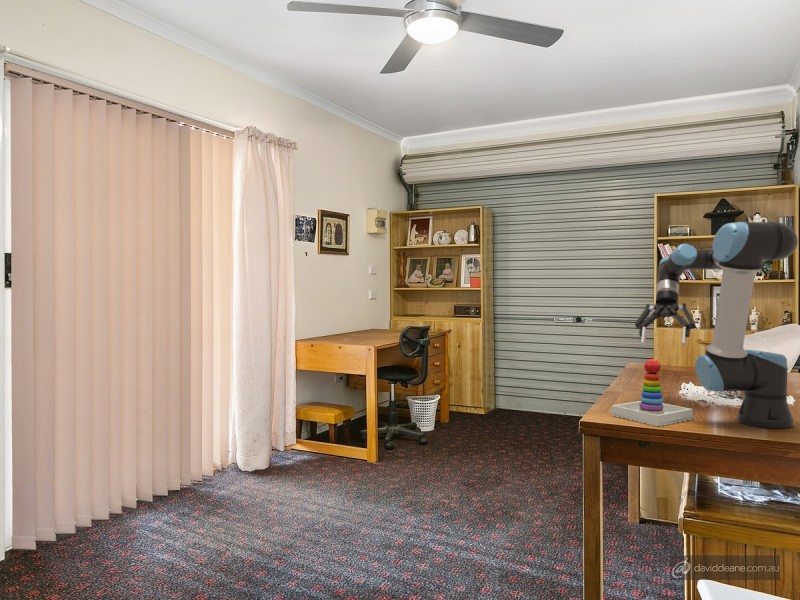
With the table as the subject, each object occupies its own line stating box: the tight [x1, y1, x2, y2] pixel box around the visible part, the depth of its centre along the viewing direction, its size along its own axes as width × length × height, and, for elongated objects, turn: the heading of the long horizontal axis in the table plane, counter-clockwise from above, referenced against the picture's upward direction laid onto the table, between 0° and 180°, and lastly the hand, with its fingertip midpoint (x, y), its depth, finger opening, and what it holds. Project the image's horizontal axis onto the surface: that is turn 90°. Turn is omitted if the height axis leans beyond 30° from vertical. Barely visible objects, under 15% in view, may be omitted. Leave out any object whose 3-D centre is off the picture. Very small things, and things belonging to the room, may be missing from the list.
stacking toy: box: [639, 358, 665, 415], centre depth 197 cm, size 8×8×19 cm
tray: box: [611, 400, 694, 427], centre depth 197 cm, size 18×18×4 cm
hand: (663, 344), depth 210 cm, fingers open, 13 cm apart
